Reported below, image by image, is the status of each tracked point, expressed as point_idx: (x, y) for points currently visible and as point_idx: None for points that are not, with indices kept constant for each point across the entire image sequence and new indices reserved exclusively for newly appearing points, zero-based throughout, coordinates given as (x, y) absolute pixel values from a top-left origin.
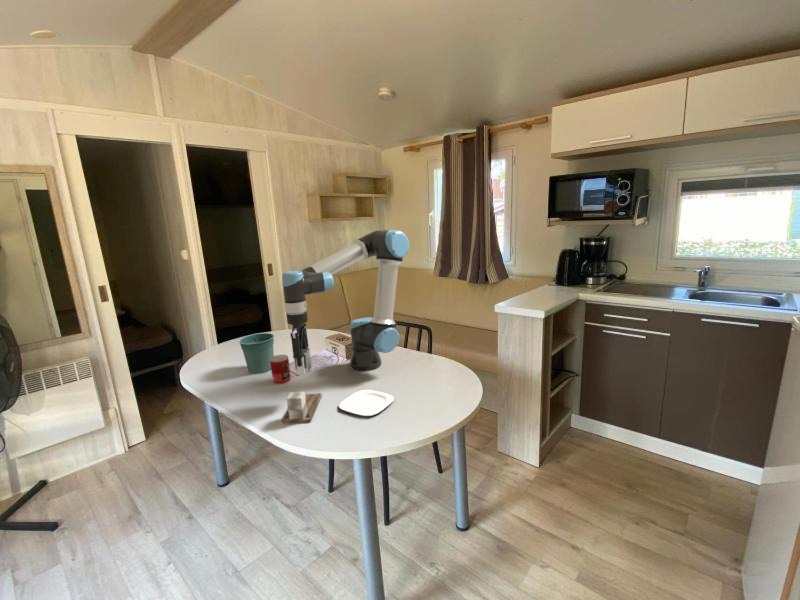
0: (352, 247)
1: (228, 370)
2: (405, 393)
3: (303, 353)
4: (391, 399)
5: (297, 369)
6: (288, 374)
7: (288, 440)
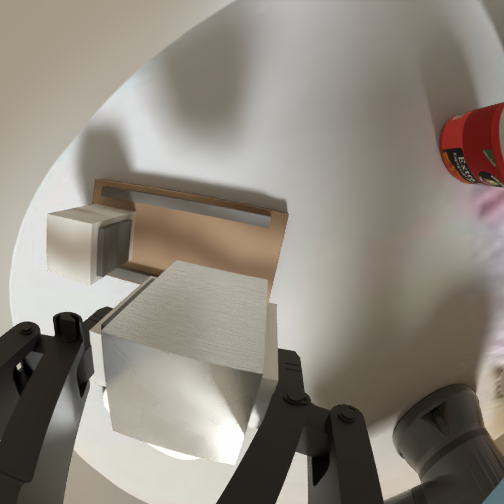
0: None
1: None
2: (212, 474)
3: (112, 411)
4: (171, 454)
5: (136, 290)
6: (466, 177)
7: (34, 212)
